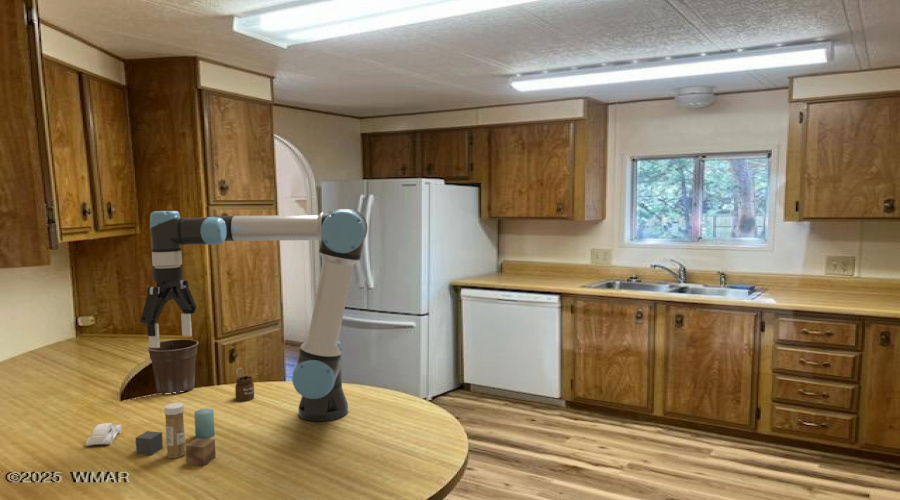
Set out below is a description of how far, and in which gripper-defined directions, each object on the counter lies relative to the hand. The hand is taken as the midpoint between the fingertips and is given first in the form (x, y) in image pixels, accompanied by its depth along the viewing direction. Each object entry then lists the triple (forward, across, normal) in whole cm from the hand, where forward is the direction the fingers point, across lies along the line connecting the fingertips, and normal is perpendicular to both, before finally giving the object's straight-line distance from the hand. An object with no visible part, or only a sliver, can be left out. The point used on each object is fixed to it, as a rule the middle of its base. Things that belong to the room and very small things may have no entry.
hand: (171, 341), depth 169 cm
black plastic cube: (+27, +12, +1) cm, 29 cm away
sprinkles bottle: (+27, +13, +9) cm, 31 cm away
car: (+27, +8, -17) cm, 33 cm away
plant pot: (+27, -34, -26) cm, 51 cm away
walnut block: (+27, +14, +18) cm, 35 cm away
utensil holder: (+27, -31, +3) cm, 41 cm away
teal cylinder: (+27, 0, +9) cm, 28 cm away
